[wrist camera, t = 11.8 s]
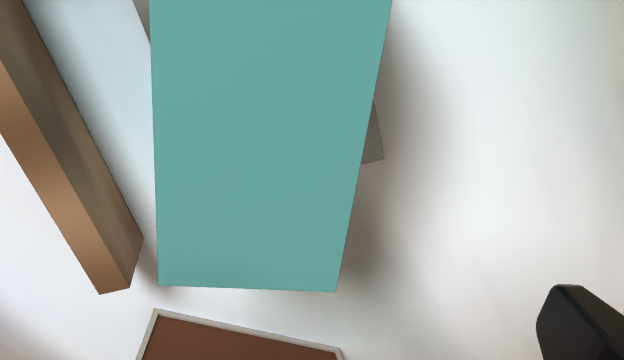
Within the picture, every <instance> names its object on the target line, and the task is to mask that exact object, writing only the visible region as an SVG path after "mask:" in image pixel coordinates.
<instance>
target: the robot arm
mask: <svg viewBox="0 0 624 360" xmlns="http://www.w3.org/2000/svg"><path fill="white" fill-rule="evenodd" d="M536 333H537V337H538V341H539V345H540V348H541V352H542V356H543V359H544V360H624V316H623V315H622V314H621V313H619V312H618V311H616V310H615V309H614V308H612V307H611V306H609V305H608V304H607V303H605V302H604V301H602V300H601V299H600V298H598V297H597V296H595V295H594V294H593V293H591V292H590V291H588V290H587V289H585V288H584V287H582V286H580V285H572V284H557V285H555V286H553V287H552V288H551V290H550V292H549V294H548V296H547V298H546V300H545V302H544V305H543V307H542V309H541V311H540V313H539V315H538V318H537V322H536Z"/></svg>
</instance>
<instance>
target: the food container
mask: <svg viewBox="0 0 624 360" xmlns="http://www.w3.org/2000/svg"><path fill="white" fill-rule="evenodd" d="M136 360H343V359H342V355H341V351H340V348H336V347H332V346H327V345H323V344H318V343H313V342H309V341H304V340H300V339H295V338H290V337H286V336H281V335H277V334H272V333H267V332H263V331H258V330H254V329H249V328H244V327H240V326H235V325H230V324H226V323H221V322H217V321H212V320H207V319H203V318H198V317H194V316H189V315H184V314H180V313H175V312H171V311H166V310H161V309H157V308H155V309H154V311H153V314H152V317H151V319H150V322H149V325H148V328H147V330H146V333H145V336H144V338H143V341H142V344H141V347H140V349H139V352H138V355H137V357H136Z"/></svg>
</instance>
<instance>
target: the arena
mask: <svg viewBox="0 0 624 360" xmlns="http://www.w3.org/2000/svg"><path fill="white" fill-rule="evenodd" d="M133 2H134V5H135V7H136V10H137V12H138V15H139V17H140V20H141V22H142V25H143V27H144V30H145V32H146V35H147V37H148V40H149V42H150V13H149V0H133ZM150 45H151V44H150ZM0 133H1V135H2V137H3V138H4V140H5V142H6V143H7V145H8V147H9V148H10V150H11V151H12V153H13V155H14V156H15V158H16V160H17V161H18V163H19V164H20V166H21V168H22V169H23V171H24V173H25V174H26V176H27V178H28V179H29V181H30V182H31V184H32V186H33V187H34V189H35V191H36V192H37V194H38V195H39V197H40V199H41V200H42V202H43V204H44V205H45V207H46V209H47V210H48V212H49V213H50V215H51V217H52V218H53V220H54V222H55V223H56V225H57V226H58V228H59V230H60V231H61V233H62V235H63V236H64V238H65V240H66V241H67V243H68V244H69V246H70V248H71V249H72V251H73V253H74V254H75V256H76V257H77V259H78V261H79V262H80V264H81V266H82V267H83V269H84V271H85V272H86V274H87V275H88V277H89V279H90V280H91V282H92V284H93V285H94V287H95V289H96V290H97V292H98V293H99V295H101V294H105V293H110V292H114V291H119V290H123V289H127V288H130V284H131V281H132V277H133V274H134V270H135V266H136V263H137V259H138V256H139V252H140V248H141V245H142V241H143V236H142V234H141V232H140V230H139V228H138V226H137V224H136V223H135V221H134V219H133V217H132V215H131V213H130V211H129V209H128V207H127V205H126V203H125V201H124V199H123V197H122V195H121V193H120V191H119V189H118V187H117V185H116V184H115V182H114V180H113V178H112V176H111V174H110V172H109V170H108V168H107V166H106V164H105V162H104V160H103V158H102V156H101V154H100V152H99V150H98V148H97V146H96V144H95V143H94V141H93V139H92V137H91V135H90V133H89V131H88V129H87V127H86V125H85V123H84V121H83V119H82V117H81V115H80V113H79V111H78V109H77V107H76V105H75V103H74V102H73V100H72V98H71V96H70V94H69V92H68V90H67V88H66V86H65V84H64V82H63V80H62V78H61V76H60V74H59V72H58V70H57V68H56V66H55V64H54V62H53V61H52V59H51V57H50V55H49V53H48V51H47V49H46V47H45V45H44V43H43V41H42V39H41V37H40V35H39V33H38V31H37V29H36V27H35V25H34V23H33V21H32V20H31V18H30V16H29V14H28V12H27V10H26V8H25V6H24V4H23V2H22V0H0ZM382 159H384V155H383V150H382V144H381V139H380V134H379V128H378V123H377V118H376V112H375V107H374V101H373V102H372V107H371V112H370V117H369V122H368V127H367V133H366V138H365V143H364V148H363V153H362V158H361V163H360V165H361V164H365V163H370V162H374V161H378V160H382Z"/></svg>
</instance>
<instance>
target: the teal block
mask: <svg viewBox="0 0 624 360" xmlns="http://www.w3.org/2000/svg"><path fill="white" fill-rule="evenodd" d="M391 4H392V0H149V13H150V44H151V74H152V105H153V135H154V166H155V196H156V227H157V257H158V285H164V286H190V287H217V288H244V289H270V290H297V291H324V292H336V287H337V282H338V277H339V272H340V267H341V261H342V256H343V251H344V246H345V241H346V236H347V230H348V225H349V220H350V215H351V210H352V205H353V200H354V194H355V189H356V184H357V179H358V174H359V169H360V163H361V158H362V153H363V148H364V143H365V138H366V133H367V127H368V122H369V117H370V112H371V107H372V102H373V97H374V91H375V86H376V81H377V76H378V71H379V66H380V60H381V55H382V50H383V45H384V40H385V35H386V30H387V24H388V19H389V14H390V9H391Z"/></svg>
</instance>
